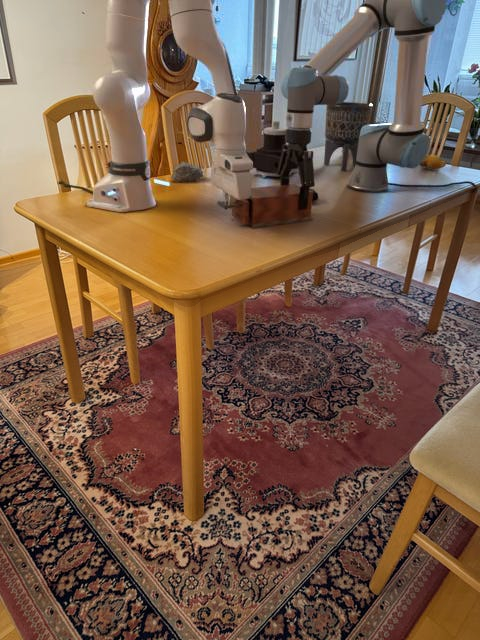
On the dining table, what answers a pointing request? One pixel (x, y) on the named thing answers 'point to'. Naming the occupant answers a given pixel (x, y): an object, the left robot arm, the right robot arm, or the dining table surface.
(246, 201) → the drawer
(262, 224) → the cabinet
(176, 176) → the rock
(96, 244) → the dining table surface
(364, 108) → the planter
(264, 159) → the mechanical component
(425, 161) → the toy
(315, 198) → the tape measure
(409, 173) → the dining table surface
